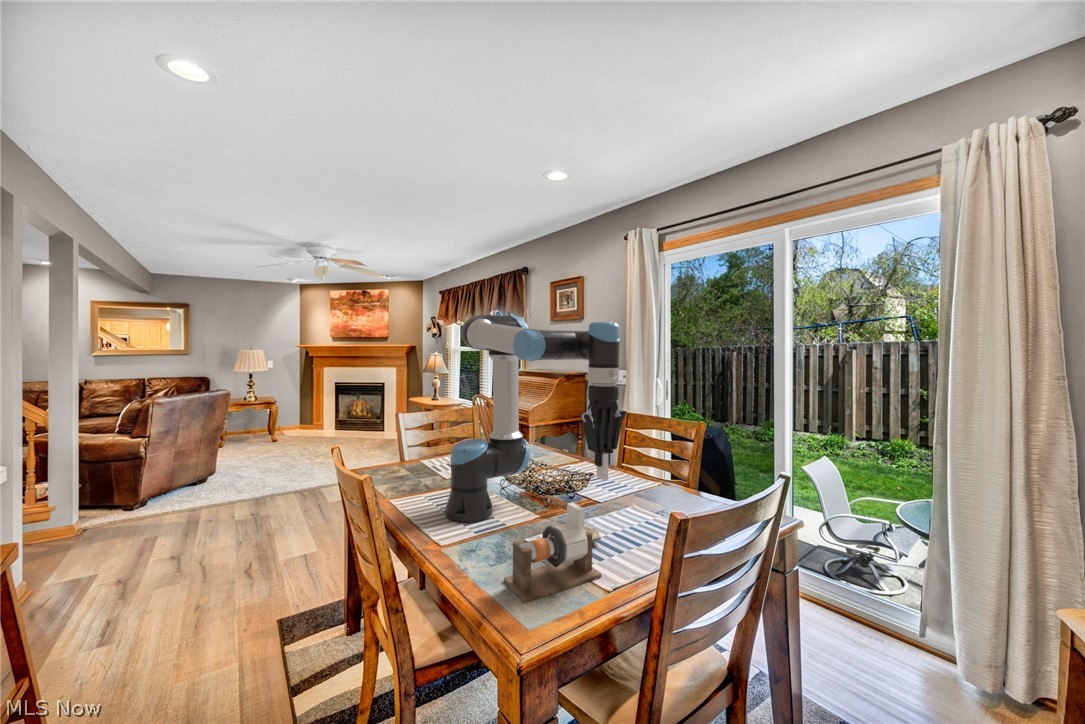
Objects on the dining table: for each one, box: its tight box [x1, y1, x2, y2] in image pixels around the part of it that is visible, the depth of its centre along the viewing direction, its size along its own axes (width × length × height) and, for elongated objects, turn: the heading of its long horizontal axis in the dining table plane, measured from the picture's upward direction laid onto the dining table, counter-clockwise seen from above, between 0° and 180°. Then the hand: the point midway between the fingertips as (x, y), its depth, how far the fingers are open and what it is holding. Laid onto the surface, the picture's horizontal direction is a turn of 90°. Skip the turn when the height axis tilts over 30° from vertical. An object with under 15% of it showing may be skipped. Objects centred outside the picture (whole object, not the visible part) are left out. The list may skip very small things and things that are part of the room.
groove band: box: [528, 537, 550, 564], centre depth 102 cm, size 4×5×5 cm
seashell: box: [583, 524, 602, 543], centre depth 124 cm, size 12×12×3 cm
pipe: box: [519, 528, 586, 564], centre depth 104 cm, size 18×4×4 cm, turn 121°
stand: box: [503, 528, 602, 604], centre depth 104 cm, size 21×10×10 cm, turn 121°
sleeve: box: [548, 502, 588, 564], centre depth 106 cm, size 6×8×12 cm
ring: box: [541, 525, 564, 567], centre depth 104 cm, size 1×9×9 cm, turn 31°
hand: (602, 478), depth 110 cm, fingers closed
